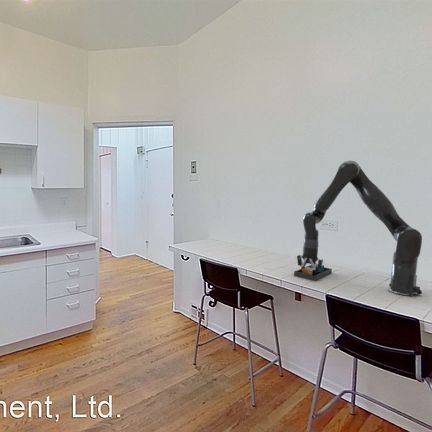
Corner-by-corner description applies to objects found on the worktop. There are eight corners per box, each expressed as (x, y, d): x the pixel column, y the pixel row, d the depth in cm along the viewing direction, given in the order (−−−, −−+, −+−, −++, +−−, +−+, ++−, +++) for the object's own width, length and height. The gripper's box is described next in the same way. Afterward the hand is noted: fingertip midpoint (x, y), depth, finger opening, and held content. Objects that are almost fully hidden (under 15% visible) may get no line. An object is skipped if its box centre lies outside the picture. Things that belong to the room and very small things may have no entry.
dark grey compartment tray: (331, 273, 182) (331, 268, 181) (314, 280, 168) (314, 276, 168) (311, 268, 191) (311, 264, 191) (293, 275, 178) (294, 271, 177)
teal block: (323, 271, 182) (324, 265, 182) (319, 273, 179) (320, 267, 178) (314, 269, 187) (314, 263, 186) (310, 271, 183) (310, 265, 183)
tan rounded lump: (315, 275, 176) (316, 268, 175) (311, 277, 173) (311, 270, 172) (306, 273, 180) (306, 266, 180) (301, 274, 177) (301, 268, 176)
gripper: (294, 245, 178) (293, 272, 180) (320, 249, 166) (318, 279, 168) (301, 243, 182) (299, 270, 184) (326, 247, 171) (324, 276, 173)
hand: (308, 274), depth 176 cm, fingers closed on tan rounded lump, 5 cm apart
